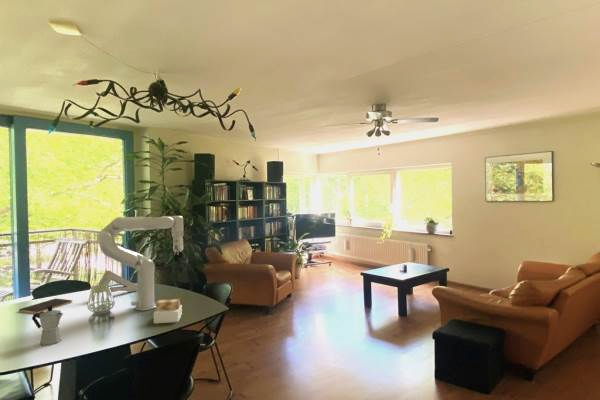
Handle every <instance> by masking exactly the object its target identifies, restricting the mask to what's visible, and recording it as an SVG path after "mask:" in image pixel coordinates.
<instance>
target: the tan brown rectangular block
mask: <svg viewBox="0 0 600 400" xmlns="http://www.w3.org/2000/svg"><path fill="white" fill-rule="evenodd" d="M155 303H156V308H155V309H156V310H155V311H160V310H178V309H179V307H180V305H181V299H180V298H175V299H158V300H157V301H155Z"/></svg>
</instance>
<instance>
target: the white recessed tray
mask: <svg viewBox="0 0 600 400" xmlns="http://www.w3.org/2000/svg"><path fill="white" fill-rule="evenodd" d="M181 315H183V305H182V304H180V307H179V309H178V310H160V311H156V310H155V311H154V312H153V324H165V323H166V324H167V323H168V324H169V323H178V322H179V321H180V319H181V317H182V316H181Z"/></svg>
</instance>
